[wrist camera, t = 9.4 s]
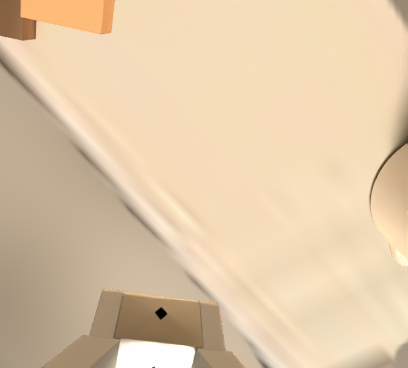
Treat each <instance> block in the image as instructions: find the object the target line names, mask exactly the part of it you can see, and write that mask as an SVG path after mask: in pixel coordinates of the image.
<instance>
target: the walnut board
mask: <svg viewBox="0 0 408 368" xmlns="http://www.w3.org/2000/svg"><path fill="white" fill-rule="evenodd" d="M0 36H4V37H9V38H14V39H18V40H31V39H35V38H36V20H32V19H28V18H23V17H21V0H0Z"/></svg>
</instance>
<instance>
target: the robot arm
mask: <svg viewBox="0 0 408 368" xmlns="http://www.w3.org/2000/svg"><path fill="white" fill-rule="evenodd" d="M370 204H371V214H372V218H373V221H374V223H375V225H376V227H377V228H378V230H379V231H380V232H381V233H382V234H383V236H384V237H385V238H386V239H387V240H388V242H389V243H390V248H391V253H392V256H393V258H394V260H395V261H397V262H398V263H399V264H400V265H403V266H408V143H407V144H405V145H404V146H403V147H401V148H400V149H399V150H398V151H397V152H396V153H395V154H393V155H392V157H391V158H390V159H389V160H388V161H387V162H386V164H385V165H384V166H383V168H382V169H381V171H380V173H379V175H378V176H377V179H376V181H375V183H374V186H373V189H372V194H371V203H370ZM41 368H245V367H244V365H243V364H242V363H241V362H240V361H239V360H238V359H237V358H236V356H235V355H234V354H233V353H232V352H229V351H226V349H225V343H224V335H223V329H222V322H221V315H220V308H219V305H218V303H215V302H205V301H199V302H198V301H192V300H184V299H175V298H167V297H161V296H154V295H148V294H141V293H134V292H128V291H124V293H123V291H120V290H113V289H106V288H104V289H103V291H102V293H101V297H100V300H99V304H98V307H97V311H96V314H95V317H94V321H93V324H92V328H91V331H90V335H89V336H87V335H83V336H81V337H80V338H79V339H78V340H76V341H75V342H74V343H72V344H71V345H70V346H68V347H67V348H66V349H64V350H63V351H62V352H61V353H59V354H58V355H57V356H55V357H54V358H53V359H52V360H50V361H49V362H48V363H46V364H45V365H44V366H42V367H41Z"/></svg>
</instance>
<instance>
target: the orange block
mask: <svg viewBox="0 0 408 368" xmlns="http://www.w3.org/2000/svg"><path fill="white" fill-rule="evenodd" d="M114 1H115V0H21V17H23V18H28V19H32V20H37V21H42V22H46V23H51V24H55V25H60V26H65V27H69V28H74V29H79V30H83V31H88V32H92V33H97V34H106V33H111V29H112V20H113V11H114Z"/></svg>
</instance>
